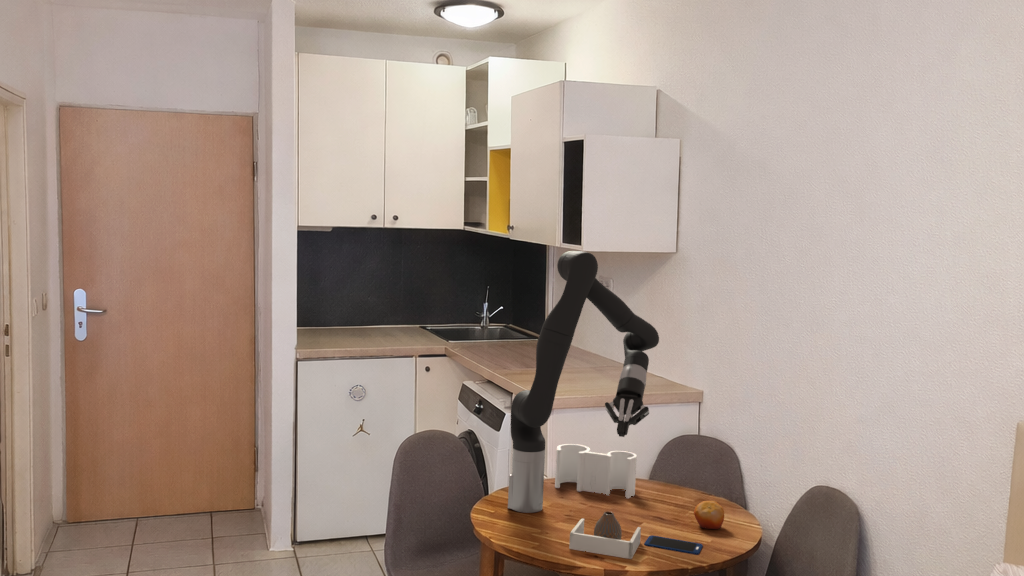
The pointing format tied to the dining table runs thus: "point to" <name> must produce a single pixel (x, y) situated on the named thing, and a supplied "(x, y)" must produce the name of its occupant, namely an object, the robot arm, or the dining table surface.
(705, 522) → the fruit
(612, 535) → the vase
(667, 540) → the cell phone
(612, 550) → the frame
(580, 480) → the bracket
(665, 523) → the dining table surface
